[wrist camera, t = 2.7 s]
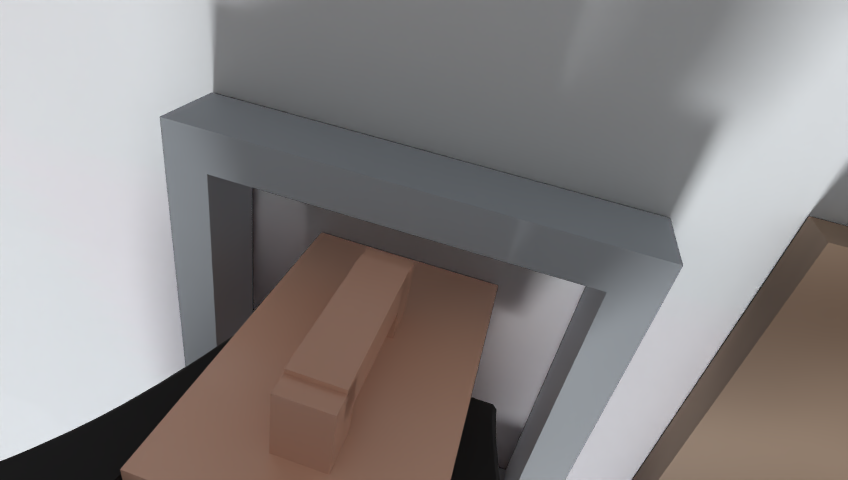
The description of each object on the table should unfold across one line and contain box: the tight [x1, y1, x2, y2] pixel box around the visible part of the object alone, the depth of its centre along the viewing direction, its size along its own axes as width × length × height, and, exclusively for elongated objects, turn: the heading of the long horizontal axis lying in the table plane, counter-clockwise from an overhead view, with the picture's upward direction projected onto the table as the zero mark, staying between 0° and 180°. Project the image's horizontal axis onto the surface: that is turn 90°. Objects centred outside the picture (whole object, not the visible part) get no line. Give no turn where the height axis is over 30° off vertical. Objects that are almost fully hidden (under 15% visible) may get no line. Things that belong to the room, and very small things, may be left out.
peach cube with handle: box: [120, 232, 498, 480], centre depth 11 cm, size 6×5×7 cm
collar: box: [160, 93, 683, 480], centre depth 14 cm, size 10×10×2 cm
